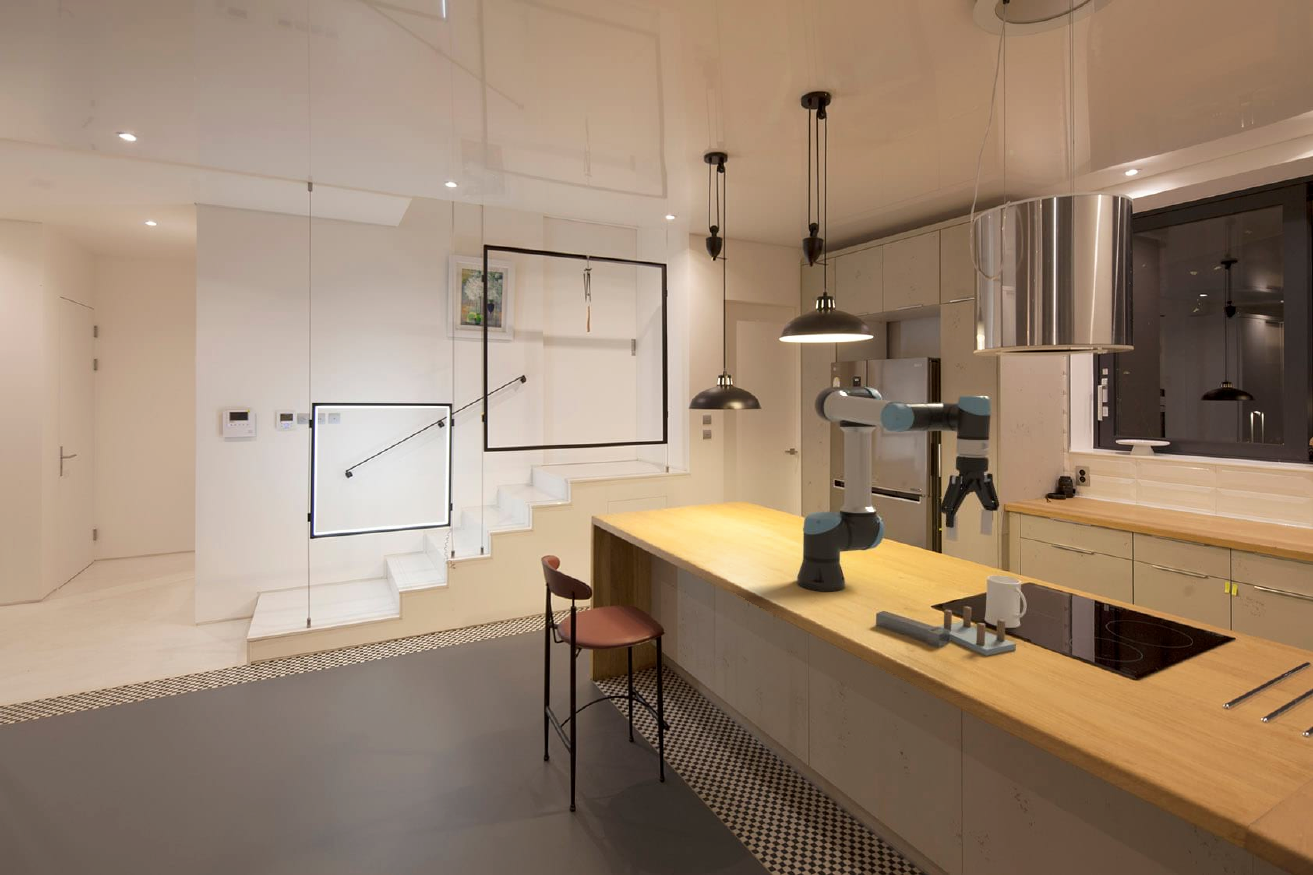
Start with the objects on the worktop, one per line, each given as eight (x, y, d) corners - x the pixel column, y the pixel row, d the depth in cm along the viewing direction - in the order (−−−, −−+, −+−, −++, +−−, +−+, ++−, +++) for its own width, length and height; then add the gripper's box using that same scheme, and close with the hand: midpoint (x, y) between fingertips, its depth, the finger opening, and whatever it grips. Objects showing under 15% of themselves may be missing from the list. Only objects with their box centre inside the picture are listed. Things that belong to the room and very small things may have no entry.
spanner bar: (874, 626, 168) (874, 613, 168) (884, 622, 171) (885, 610, 171) (938, 648, 154) (939, 634, 154) (949, 643, 157) (949, 630, 157)
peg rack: (933, 632, 164) (934, 608, 164) (961, 627, 168) (962, 603, 168) (986, 655, 150) (987, 629, 149) (1015, 649, 153) (1016, 623, 153)
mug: (1036, 631, 165) (1038, 587, 164) (1007, 633, 164) (1009, 588, 163) (1005, 616, 177) (1006, 574, 176) (977, 617, 175) (979, 575, 175)
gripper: (952, 459, 152) (949, 545, 154) (1016, 455, 164) (1013, 535, 165) (926, 456, 159) (923, 539, 160) (989, 452, 170) (986, 529, 172)
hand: (969, 537), depth 163 cm, fingers open, 13 cm apart
